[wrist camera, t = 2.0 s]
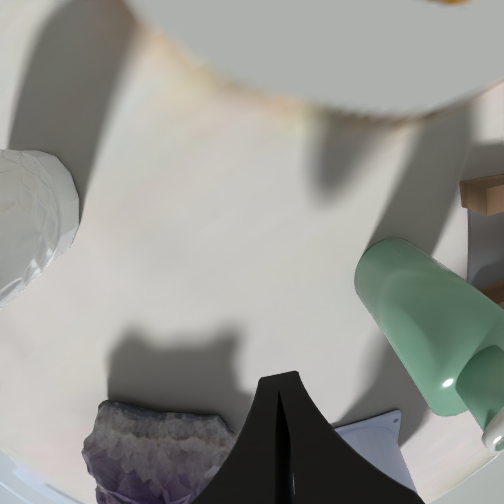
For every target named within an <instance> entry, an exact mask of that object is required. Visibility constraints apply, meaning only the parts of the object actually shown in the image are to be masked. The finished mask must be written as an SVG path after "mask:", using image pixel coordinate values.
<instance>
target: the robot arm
mask: <svg viewBox="0 0 504 504" xmlns="http://www.w3.org/2000/svg"><path fill="white" fill-rule="evenodd" d="M401 417H402V413H401V411H400V410H395V411H392V412H389V413H386V414H383V415H380V416H377V417H374V418H371V419H368V420H364V421H361V422H358V423H354V424H351V425H347V426H343V427H339V428H336V429H333V427H332V426H331V425H330V424H329V423H328V421H327V420H326V419H325V418H324V416H323V415H322V414H321V412H320V411H319V410H318V408H317V407H316V405H315V404H314V402H313V401H312V399H311V398H310V396H309V395H308V393H307V391H306V389H305V387H304V385H303V383H302V381H301V379H300V376H299V372H297V371H291V372H286V373H281V374H276V375H272V376H267V377H261V378H260V380H259V382H258V387H257V390H256V394H255V397H254V400H253V403H252V406H251V409H250V411H249V414H248V417H247V419H246V422H245V424H244V426H243V428H242V430H241V432H240V434H239V437H238V439H237V441H236V443H235V444H234V446H233V448H232V450H231V452H230V453H229V455H228V457H227V458H226V460H225V461H224V463H223V464H222V466H221V467H220V469H219V470H218V471H217V473H216V474H215V476H214V477H213V478H212V480H211V481H210V482H209V483H208V485H207V486H206V487H205V488H204V489H203V490H202V492H201V493H200V494H199V495H198V496H197V497H196V498H195V499H194V500H193V501H192V502H191V503H190V504H425V503H424V502H423V500H422V499H421V498H420V497H419V496H418V493H417V491H416V488H415V485H414V483H413V480H412V478H411V475H410V473H409V470H408V468H407V465H406V463H405V460H404V458H403V456H402V453H401V451H400V448H399V446H398V444H397V442H398V436H399V430H400V423H401ZM293 476H294V484H293ZM294 493H295V495H294Z"/></svg>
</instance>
